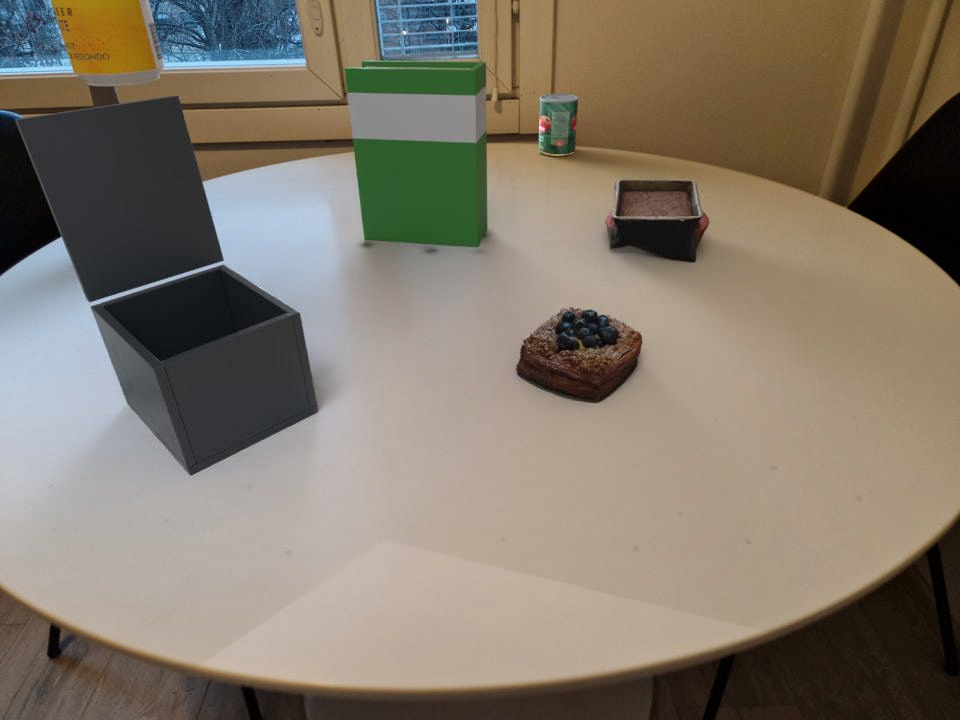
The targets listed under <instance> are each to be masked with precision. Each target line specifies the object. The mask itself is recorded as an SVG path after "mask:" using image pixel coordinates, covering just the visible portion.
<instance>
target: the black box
mask: <svg viewBox="0 0 960 720" xmlns="http://www.w3.org/2000/svg"><path fill="white" fill-rule="evenodd" d="M90 310H91V312H92V315H93V317H94V320H95V322H96V325H97V328H98V331H99V333H100V336H101V338H102V341H103V344H104V345H105V349H106V350H107V354H108V357H109V359H110V363H111V365H112V367H113V370H114V372H115V373H114V374H115V375H116V377H117V380H118V383H119V386H120V388H121V391H122V393H123V396H124V400H125V401H126V404H127V405H128V406H129V407H130V408H131V410H132V411H133V412H134V413H135V414H136V415H137V417H139V419H140V420H141V422H143V423H144V424H145V425H146V427H147V428H148V429H149V430H150V431H151V432H152V434H153V435H154V436H155V437H156V438H157V439H158V440H159V442H160V443H161V444H162V445H163V446H164V447H165V448H166V450H167V451H168V452H169V453H170V454H171V456H172V457H173V458H174V459H175V460H176V461H177V463H179V465H180V466H181V467H182V468H183V469H184V471H186V473H187V474H188V475H189V476H192V475H194V474H196V473H198V472H200V471H202V470H204V469H207V468H208V467H211V466H212V465H214V464H216V463H218V462H220V461H223V460H224V459H226V458H229V457H230V456H232V455H234V454H237V453H238V452H240V451H242V450H244V449H246V448H248V447H250V446H252V445H254V444H256V443H258V442H260V441H263V440H264V439H266V438H269V437H270V436H273V435H274V434H276V433H279V432H281V431H283V430H284V429H286V428H288V427H290V426H293V425H294V424H296V423H298V422H300V421H303V420H304V419H306V418H308V417H310V416H312V415H314V414H316V413H318V412H319V407H318V401H317V398H316V390H315V386H314V381H313V375H312V370H311V364H310V359H309V353H308V347H307V343H306V338H305V333H304V327H303V321H302V315H301V312H300V311H299V310H297V309H295V308H294V307H292V306H290V305H289V304H287V303H286V302H284V301H283V300H282V299H279V298H278V297H276V296H274V295H273V294H272V293H270V292H268V291H267V290H265V289H264V288H262V287H260V286H259V285H258V284H256V283H254V282H252V281H251V280H250V279H248V278H246V277H244V276H243V275H241V274H240V273H238V272H236V271H235V270H234V269H232V268H230V267H229V266H227V265H225V264H223V263H222V264H220V265H216V266H214V267H210V268H208V269H204V270H202V271H201V270H200V271H198V272H195V273H192V274H188V275H185V276H182V277H179V278H175V279H172V280H169V281H166V282H164V283H160V284H157V285H154V286H150V287H147V288H145V289H141V290H137V291H135V292H131V293H128V294H125V295H121V296H119V297H115V298H112V299H109V300H106V301H103V302H100V303H96V304H93V305H91V306H90Z"/></svg>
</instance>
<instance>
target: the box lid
mask: <svg viewBox="0 0 960 720" xmlns="http://www.w3.org/2000/svg"><path fill="white" fill-rule="evenodd" d="M14 121H15V124H16V127H17V129H18V131H19V134H20V136H21V139H22V141H23V144H24V147H25V149H26V151H27V154H28V156H29V159H30V161H31V164H32V166H33V169H34V171H35V174H36V176H37V179H38V181H39V184H40V186H41V189H42V191H43V194H44V196H45V199H46V201H47V204H48V206H49V209H50V211H51V214H52V216H53V219H54V222H55V224H56V227H57V229H58V232H59V234H60V236H61V240H62V242H63V244H64V246H65V249H66V251H67V254H68V257H69V259H70V262H71V265H72V267H73V269H74V272H75V274H76V277H77V279H78V281H79V285H80V287H81V289H82V291H83V295H84V297H85V299H86V301H87V302H88V303H93V302H95V301H98V300H99V301H100V300H102V299H105V298H109V297H112V296H114V295H118V294H122V293H125V292H128V291H131V290H135V289H137V288H140V287H144V286H147V285H150V284H154V283H158V282H160V281H163V280H166V279H170V278H173V277H177V276H179V275H182V274H186V273H188V272H193V271H195V270H199V269H202V268H205V267H208V266H212V265H214V264H219V263H221V262H224V261H225V259H224V256H223V252H222V248H221V245H220V241H219V237H218V233H217V230H216V226H215V223H214V219H213V215H212V211H211V208H210V204H209V201H208V196H207V193H206V190H205V187H204V182H203V180H202V175H201V172H200V168H199V164H198V160H197V158H196V153H195V150H194V146H193V142H192V139H191V136H190V131H189V128H188V125H187V121H186V117H185V113H184V110H183V107H182V103H181V98H180V96H179V95H170V96H169V95H168V96H162V97H157V98H149V99H142V100H135V101H128V102H121V104H114V105H107V106H100V107H94V106H93V107H87V108H80V109H73V110H67V111H61V112H60V111H59V112H54V113H48V114H47V113H46V114H39V115H34V116H33V115H32V116H27V117H19V118H15V119H14Z"/></svg>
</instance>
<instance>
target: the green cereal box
mask: <svg viewBox="0 0 960 720" xmlns="http://www.w3.org/2000/svg"><path fill="white" fill-rule="evenodd" d="M343 70H344V77H345V85H346V94H347V102H348V111H349V121H350V128H351V136H352V137H351V138H352V145H353V153H354V154H353V155H354V163H355V170H356V179H357V187H358V196H359V205H360V213H361V221H362V222H361V223H362V230H363V231H362V232H363V239H364V240H366V241H378V242H379V241H380V242H393V243H395V242H397V243H409V244H410V243H411V244H424V245H425V244H428V245H443V246H459V247H473V248H477V247H479V246H480V244H481V242H482V240H483V239H484V236H485V234H486V233H487V230H488V159H487V158H488V149H487V148H488V147H487V145H488V139H487V138H488V137H487V136H488V135H487V131H488V129H487V128H488V127H487V61H451V60H449V61H445V60H444V61H441V60H440V61H439V60H437V61H436V60H375V59H374V60H373V59H372V60H371V59H369V60H368V59H363V60H361V67H354V66H353V67H349V66H348V67H344V69H343Z"/></svg>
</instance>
